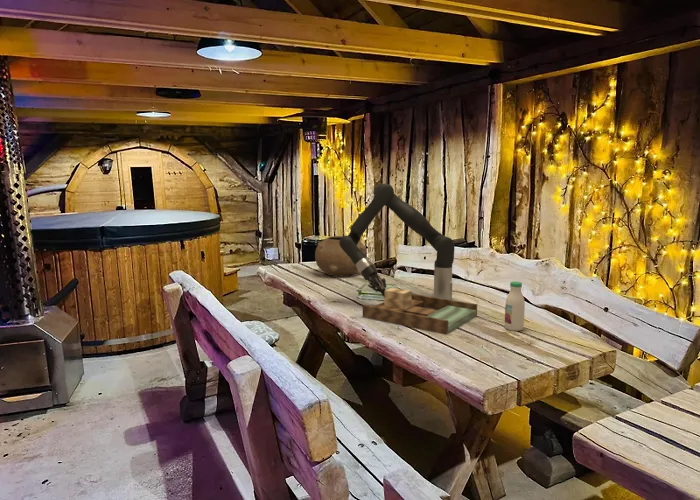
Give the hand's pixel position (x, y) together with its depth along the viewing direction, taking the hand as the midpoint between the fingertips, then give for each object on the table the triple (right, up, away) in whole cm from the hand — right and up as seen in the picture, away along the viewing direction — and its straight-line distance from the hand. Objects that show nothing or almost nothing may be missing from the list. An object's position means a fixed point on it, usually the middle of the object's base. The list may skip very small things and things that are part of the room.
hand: (387, 296), depth 228 cm
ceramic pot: (-24, +6, +87) cm, 90 cm away
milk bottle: (+52, -11, -28) cm, 59 cm away
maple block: (+5, -4, -3) cm, 7 cm away
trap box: (+14, -8, -10) cm, 19 cm away
